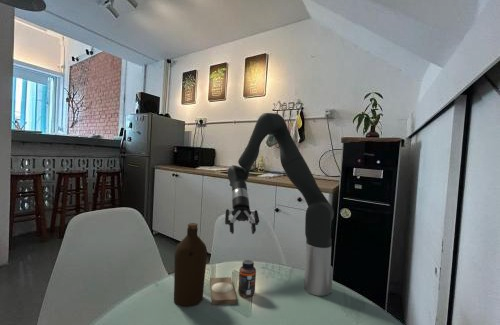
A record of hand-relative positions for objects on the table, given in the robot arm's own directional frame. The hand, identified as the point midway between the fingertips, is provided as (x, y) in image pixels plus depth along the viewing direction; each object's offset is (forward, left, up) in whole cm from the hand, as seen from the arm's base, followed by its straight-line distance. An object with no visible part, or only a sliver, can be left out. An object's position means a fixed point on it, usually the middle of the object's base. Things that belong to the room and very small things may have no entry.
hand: (243, 232), depth 98 cm
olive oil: (+20, +13, -19) cm, 30 cm away
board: (+8, +10, -18) cm, 22 cm away
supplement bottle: (0, +12, -19) cm, 22 cm away
